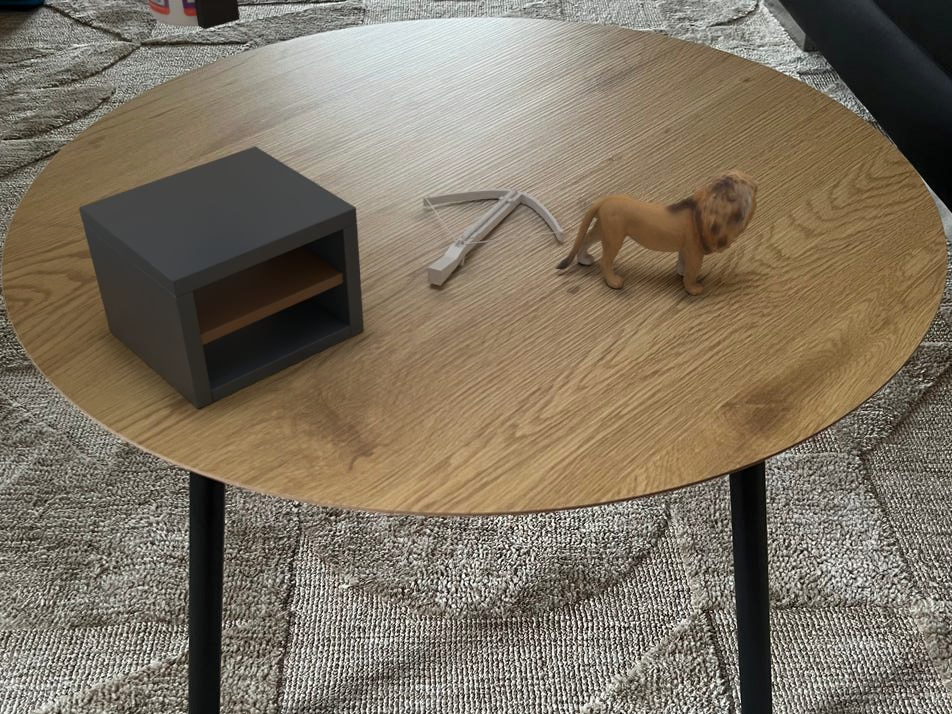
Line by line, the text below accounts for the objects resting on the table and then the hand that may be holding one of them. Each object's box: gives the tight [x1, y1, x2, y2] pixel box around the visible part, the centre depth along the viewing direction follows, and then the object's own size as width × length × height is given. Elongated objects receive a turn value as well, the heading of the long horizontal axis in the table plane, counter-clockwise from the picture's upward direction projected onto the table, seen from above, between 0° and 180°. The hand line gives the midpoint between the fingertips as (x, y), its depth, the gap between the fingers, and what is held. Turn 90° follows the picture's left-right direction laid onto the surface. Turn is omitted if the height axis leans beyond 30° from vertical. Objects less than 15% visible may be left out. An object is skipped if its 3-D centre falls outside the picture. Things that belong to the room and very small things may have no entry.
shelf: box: [78, 146, 365, 410], centre depth 77 cm, size 12×14×10 cm
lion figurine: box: [555, 169, 760, 296], centre depth 83 cm, size 15×5×9 cm, turn 90°
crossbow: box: [422, 187, 565, 286], centre depth 89 cm, size 16×13×2 cm
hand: (193, 9), depth 73 cm, fingers closed on pill bottle, 5 cm apart
